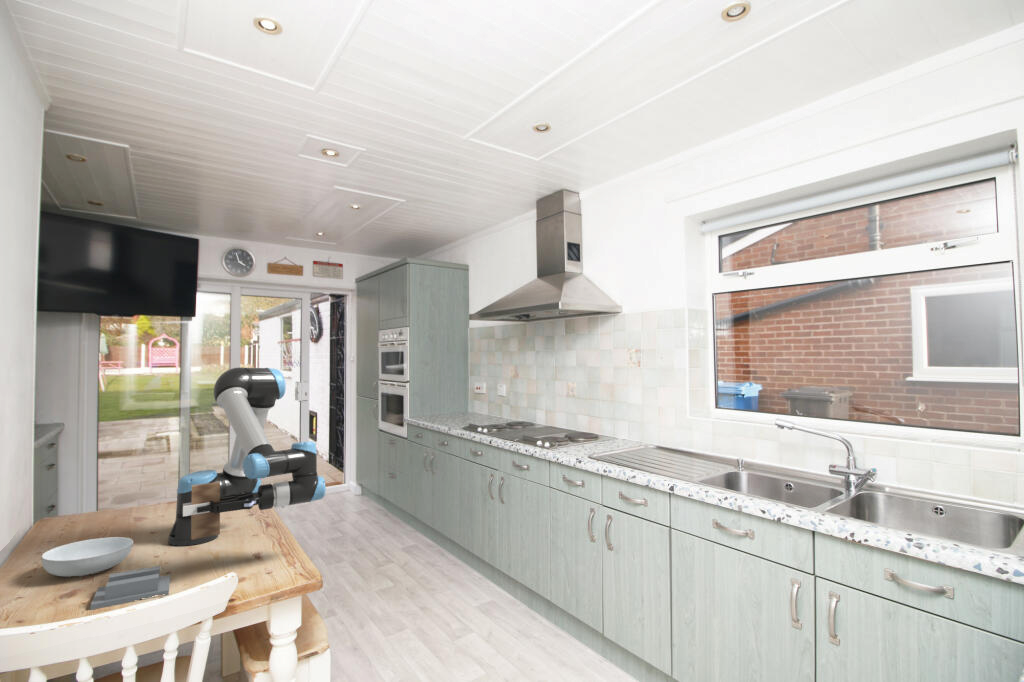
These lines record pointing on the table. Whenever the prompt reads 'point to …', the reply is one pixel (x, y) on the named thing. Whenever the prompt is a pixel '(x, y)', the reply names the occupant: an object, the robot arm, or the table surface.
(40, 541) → the table surface
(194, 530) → the walnut card
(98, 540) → the serving bowl
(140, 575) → the slotted rack
